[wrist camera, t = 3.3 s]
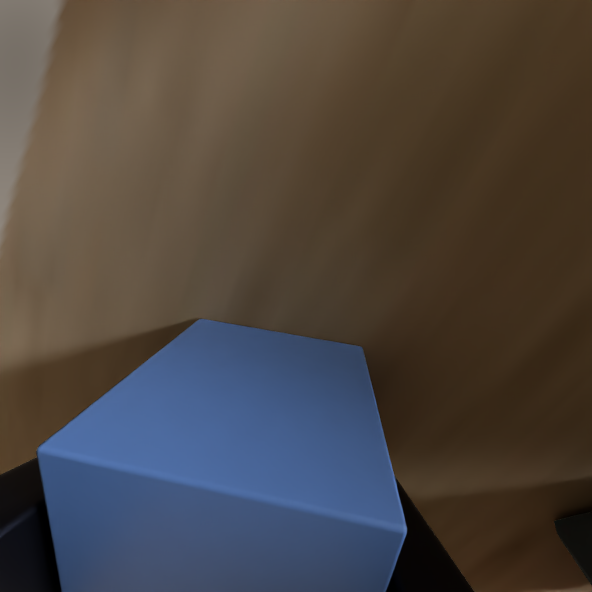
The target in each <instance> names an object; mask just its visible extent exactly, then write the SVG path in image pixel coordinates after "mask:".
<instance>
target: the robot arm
mask: <svg viewBox="0 0 592 592" xmlns="http://www.w3.org/2000/svg"><path fill="white" fill-rule="evenodd" d="M394 477H395V476H394ZM395 481H396V485H397V489H398V493H399V497H400V501H401V505H402V509H403V513H404V518H405V522H406V526H407V534H406V537H405V540H404V542H403V545H402V548H401V551H400V554H399V556H398V559H397V562H396V565H395V568H394V570H393V573H392V576H391V579H390V582H389V584H388V587H387V590H386V592H474V590H473V589H472V587H471V586H470V584H469V583H468V582H467V580H466V579H465V577H464V576H463V574H462V573H461V571H460V570H459V569H458V567H457V566H456V564H455V563H454V561H453V560H452V558H451V557H450V556H449V554H448V553H447V551H446V550H445V548H444V547H443V545H442V544H441V542H440V541H439V540H438V538H437V537H436V535H435V534H434V532H433V531H432V529H431V528H430V527H429V525H428V524H427V522H426V521H425V519H424V518H423V516H422V515H421V513H420V512H419V511H418V509H417V508H416V506H415V505H414V503H413V502H412V500H411V499H410V498H409V496H408V495H407V493H406V492H405V490H404V489H403V487H402V486H401V485H400V483H399V482H398V480H397V479H396V477H395ZM0 592H61V587H60V582H59V576H58V570H57V565H56V559H55V554H54V548H53V543H52V537H51V531H50V526H49V520H48V515H47V509H46V503H45V498H44V492H43V487H42V481H41V476H40V470H39V464H38V459H37V457H36V458H34V459H32V460H30V461H28V462H26V463H24V464H22V465H20V466H18V467H16V468H13V469H11V470H9V471H7V472H5V473H3V474H1V475H0Z"/></svg>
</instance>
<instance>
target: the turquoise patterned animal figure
mask: <svg viewBox="0 0 592 592" xmlns="http://www.w3.org/2000/svg"><path fill="white" fill-rule="evenodd" d="M554 523H555V527H556V531H557V534H558V535H559V537H560V539H561V541H562V542H563V544H564V545H565V547H566V548H567V550H568V551H569V552H570V554H571V555H572V557H573V558H574V560H575V561H576V563H577V564H578V566H579V567H580V569H581V570H582V572H583V573H584V575H585V576H586V578H587V579H588V581H589V582H590V584H591V585H592V512H588V513H583V514H579V515H575V516H571V517H567V518H563V519H560V520H556V521H554Z"/></svg>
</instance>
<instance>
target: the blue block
mask: <svg viewBox="0 0 592 592" xmlns="http://www.w3.org/2000/svg"><path fill="white" fill-rule="evenodd" d="M36 453H37V459H38V464H39V470H40V476H41V481H42V487H43V492H44V498H45V503H46V509H47V515H48V520H49V526H50V531H51V537H52V543H53V548H54V554H55V559H56V565H57V570H58V576H59V582H60V587H61V592H386V590H387V587H388V584H389V582H390V579H391V576H392V573H393V570H394V568H395V565H396V562H397V559H398V556H399V554H400V551H401V548H402V545H403V542H404V540H405V537H406V534H407V526H406V522H405V518H404V513H403V509H402V505H401V501H400V497H399V493H398V489H397V485H396V481H395V477H394V473H393V469H392V465H391V461H390V457H389V453H388V449H387V444H386V440H385V436H384V432H383V428H382V424H381V420H380V416H379V412H378V408H377V404H376V400H375V396H374V392H373V388H372V384H371V380H370V375H369V371H368V367H367V363H366V359H365V355H364V351H363V348H362V347H361V346H355V345H349V344H344V343H338V342H332V341H326V340H321V339H315V338H309V337H304V336H298V335H292V334H286V333H281V332H275V331H269V330H263V329H258V328H252V327H246V326H240V325H235V324H229V323H223V322H218V321H212V320H206V319H199V320H197V321H196V322H195V323H194V324H192V325H191V326H190V327H189V328H187V329H186V330H185V331H183V332H182V333H181V334H180V335H178V336H177V337H176V338H175V339H173V340H172V341H171V342H170V343H168V344H167V345H166V346H165V347H163V348H162V349H161V350H159V351H158V352H157V353H156V354H154V355H153V356H152V357H151V358H149V359H148V360H147V361H146V362H144V363H143V364H142V365H140V366H139V367H138V368H137V369H135V370H134V371H133V372H132V373H130V374H129V375H128V376H127V377H125V378H124V379H123V380H122V381H120V382H119V383H118V384H116V385H115V386H114V387H113V388H111V389H110V390H109V391H108V392H106V393H105V394H104V395H103V396H101V397H100V398H99V399H97V400H96V401H95V402H94V403H92V404H91V405H90V406H89V407H87V408H86V409H85V410H84V411H82V412H81V413H80V414H79V415H77V416H76V417H75V418H73V419H72V420H71V421H70V422H68V423H67V424H66V425H65V426H63V427H62V428H61V429H60V430H58V431H57V432H56V433H55V434H53V435H52V436H51V437H49V438H48V439H47V440H46V441H44V442H43V443H42V444H41V445H40V446H39V447H38V448H37V451H36Z"/></svg>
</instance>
